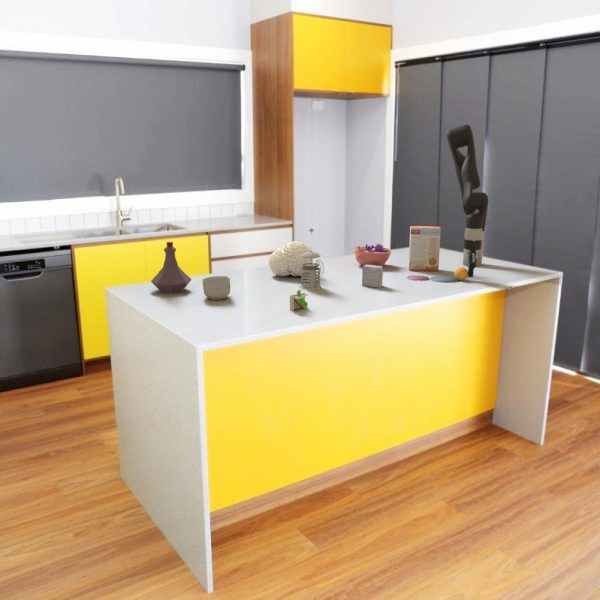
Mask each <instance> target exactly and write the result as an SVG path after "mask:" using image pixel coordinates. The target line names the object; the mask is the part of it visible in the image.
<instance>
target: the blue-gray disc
mask: <svg viewBox="0 0 600 600" xmlns="http://www.w3.org/2000/svg"><path fill="white" fill-rule="evenodd" d="M429 280H431V281H433V282H438V283H446V284H447V283H459V282H460V281H461V280H458V279H456V278H455V276H451V275H434V276H433V275H432V276H431V277H429Z"/></svg>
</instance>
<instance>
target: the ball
mask: <svg viewBox="0 0 600 600" xmlns="http://www.w3.org/2000/svg"><path fill="white" fill-rule="evenodd" d="M453 275H454V277H455V278H456V279H458V280H460V281H464V280H466V279H467V278H468V268H465V267H463V266H458V267H457V268H456V269H455V270H454V274H453Z"/></svg>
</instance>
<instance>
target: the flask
mask: <svg viewBox="0 0 600 600" xmlns="http://www.w3.org/2000/svg"><path fill="white" fill-rule="evenodd" d="M173 245H174V242H173V241H166V247H164V249H163V251H164V253H165V257H164V262H163V266H162V267H161V269H160V270H159V271H158V273H157V274H156V275H155V276H154V277H153V278H152V279H151V280H150V282H151V283H152V285H154V286H155V287H156V289H158V291H160V292H162V293H164V294H177V293H182V292H183V291H184V290H185V288H186V287H188V285H189V284H190V282H191V281H192V278H191V277H190V276H189V275H188V274H187V273H185V271H184V270H183V269H181V268H180V266H179V264H178V261H177V257H176V251H177V248H176V247H174V246H173Z"/></svg>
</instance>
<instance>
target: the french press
mask: <svg viewBox="0 0 600 600" xmlns="http://www.w3.org/2000/svg"><path fill="white" fill-rule="evenodd" d="M308 232H310V234H312V232H314V229H313V228H309V229H308ZM301 256H302V257H304V258H313V259H316V260H315V263H314V262H313V263H305V264H303V266H304V267H302V268H301V274H302V275H301V276H300V277H301V278H300V279H301V284H300V285H299V286H298V288H299V289H300V290H301V289H302V290H306V291H317V290H322V288H323V287H322V286H321V277H322V276H323V275H324V272H325V270H324V269H325V267H324V263H323V261H321V259H319V260H318V258H320V257H321V254H320V253H318V252H317V251H316V252H315V251H312V250H310V252H305V253H304V254H302V255H301ZM320 263H321V264H320ZM321 265H322V266H321Z"/></svg>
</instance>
